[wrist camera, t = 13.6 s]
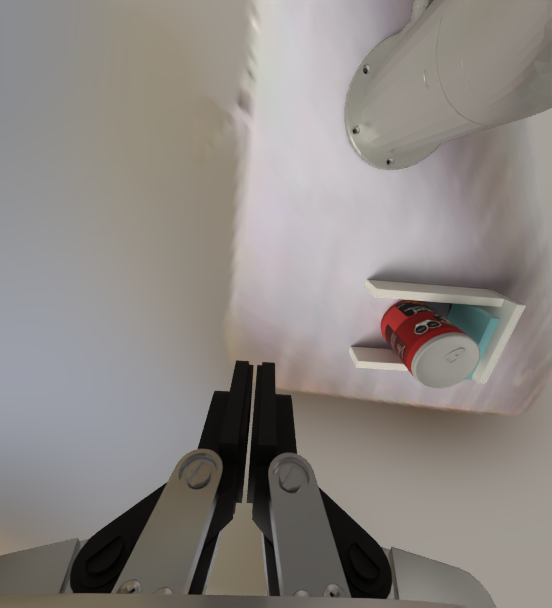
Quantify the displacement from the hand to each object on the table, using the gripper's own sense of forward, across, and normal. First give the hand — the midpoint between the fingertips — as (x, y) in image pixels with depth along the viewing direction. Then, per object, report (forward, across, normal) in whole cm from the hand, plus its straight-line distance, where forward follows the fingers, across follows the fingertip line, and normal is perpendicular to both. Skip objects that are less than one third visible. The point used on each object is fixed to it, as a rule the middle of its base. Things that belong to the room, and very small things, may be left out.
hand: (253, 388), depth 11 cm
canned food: (+27, -22, +9) cm, 36 cm away
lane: (+27, -24, +9) cm, 38 cm away
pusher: (+27, -30, +9) cm, 41 cm away
